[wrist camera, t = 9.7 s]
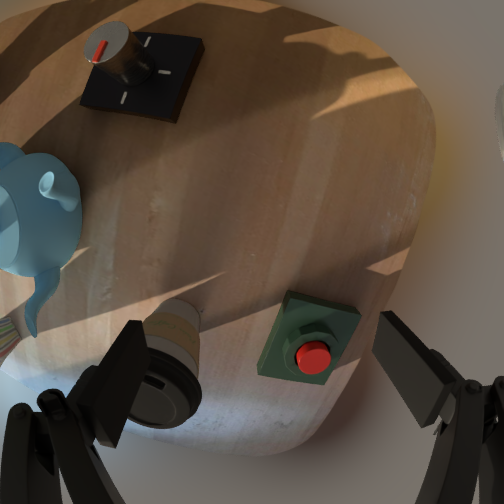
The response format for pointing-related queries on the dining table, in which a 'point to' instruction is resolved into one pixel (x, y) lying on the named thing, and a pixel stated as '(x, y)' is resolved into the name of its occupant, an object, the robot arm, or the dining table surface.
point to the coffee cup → (170, 367)
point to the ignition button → (313, 357)
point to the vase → (7, 338)
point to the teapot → (37, 221)
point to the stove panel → (150, 80)
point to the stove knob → (119, 54)
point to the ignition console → (306, 336)
